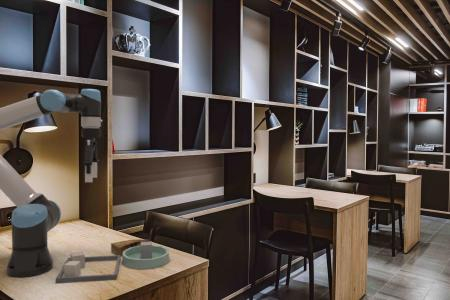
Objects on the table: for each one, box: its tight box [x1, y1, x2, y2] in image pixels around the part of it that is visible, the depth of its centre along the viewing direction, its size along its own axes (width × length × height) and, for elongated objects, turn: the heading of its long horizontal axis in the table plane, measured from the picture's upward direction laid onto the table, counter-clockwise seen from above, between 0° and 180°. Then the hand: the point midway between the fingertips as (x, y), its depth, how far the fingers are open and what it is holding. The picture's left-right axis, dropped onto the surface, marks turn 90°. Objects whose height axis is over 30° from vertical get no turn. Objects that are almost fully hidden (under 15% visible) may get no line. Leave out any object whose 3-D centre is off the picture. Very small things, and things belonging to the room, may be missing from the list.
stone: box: [110, 239, 151, 258], centre depth 162 cm, size 15×9×5 cm, turn 121°
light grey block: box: [63, 261, 82, 277], centre depth 134 cm, size 4×4×5 cm
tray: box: [55, 254, 122, 284], centre depth 141 cm, size 20×21×2 cm
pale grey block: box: [70, 250, 86, 269], centre depth 144 cm, size 4×4×5 cm
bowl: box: [121, 244, 170, 270], centre depth 151 cm, size 18×18×4 cm
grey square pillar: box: [141, 241, 153, 259], centre depth 151 cm, size 4×4×6 cm
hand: (91, 179), depth 154 cm, fingers open, 13 cm apart
